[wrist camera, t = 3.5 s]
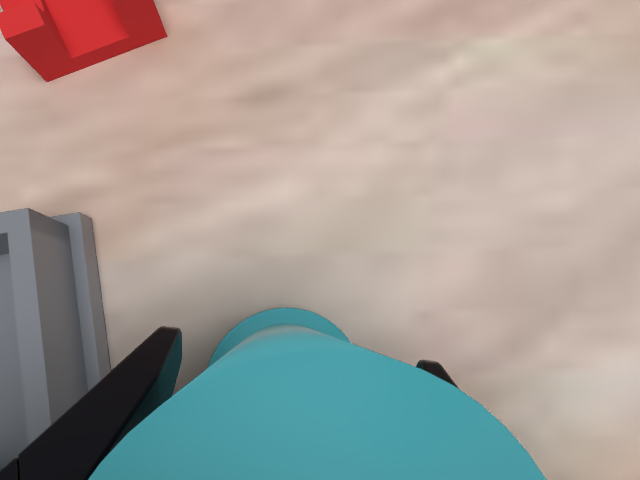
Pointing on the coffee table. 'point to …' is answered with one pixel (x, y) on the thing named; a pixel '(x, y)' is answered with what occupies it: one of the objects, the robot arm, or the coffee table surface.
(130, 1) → the bracket
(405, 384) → the teal peg
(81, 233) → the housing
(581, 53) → the coffee table surface
